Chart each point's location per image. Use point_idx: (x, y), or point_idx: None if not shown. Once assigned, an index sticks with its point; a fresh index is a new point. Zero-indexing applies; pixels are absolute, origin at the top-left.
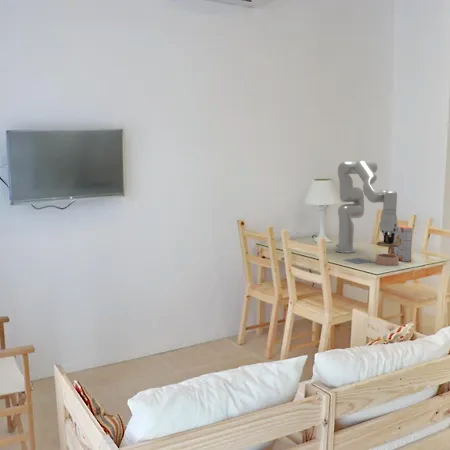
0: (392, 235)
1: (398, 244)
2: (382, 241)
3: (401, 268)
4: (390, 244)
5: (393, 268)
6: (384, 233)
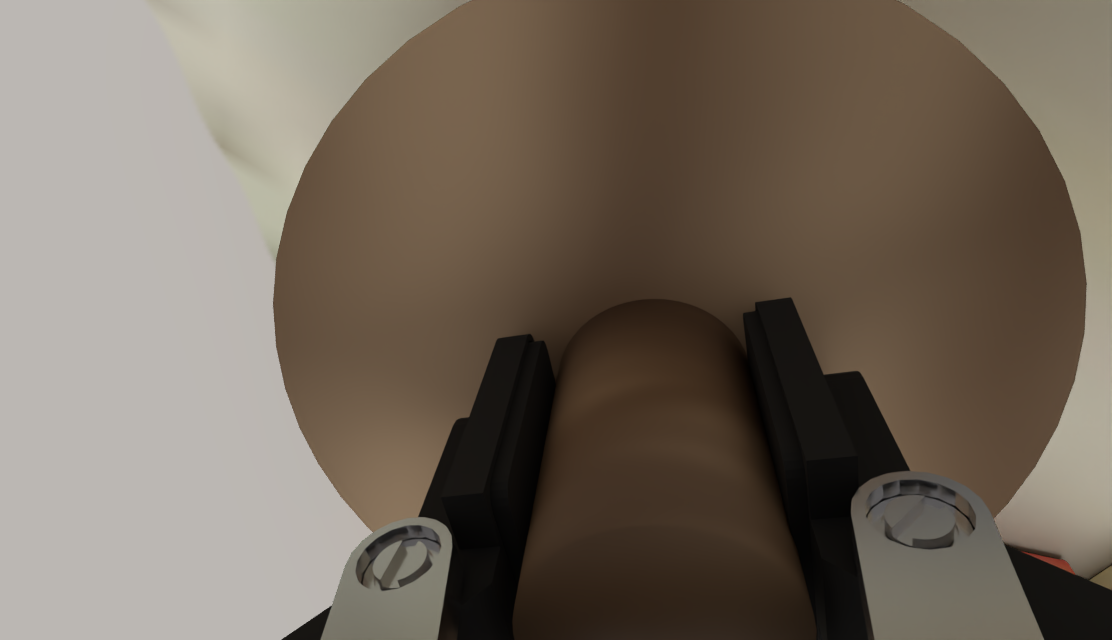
0: (301, 637)
1: (364, 519)
2: (1056, 405)
3: (287, 207)
4: (399, 316)
5: (295, 73)
6: (879, 585)
